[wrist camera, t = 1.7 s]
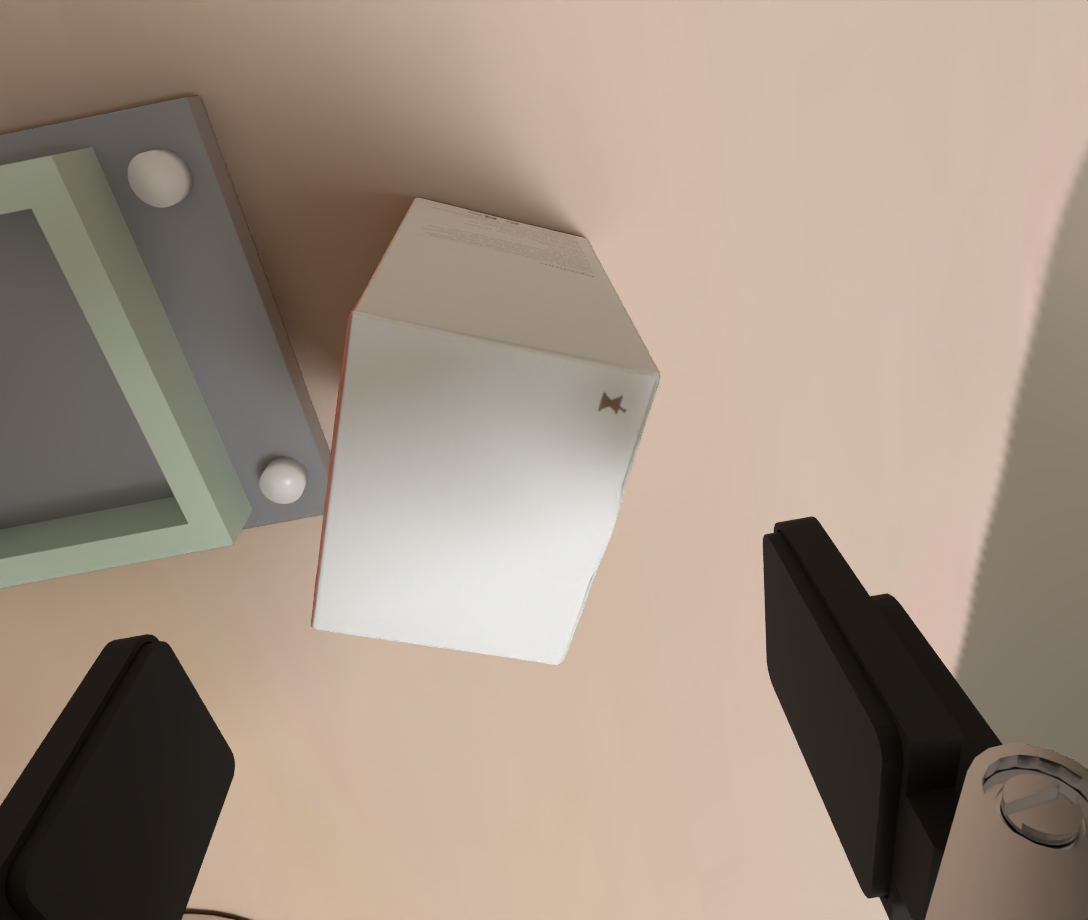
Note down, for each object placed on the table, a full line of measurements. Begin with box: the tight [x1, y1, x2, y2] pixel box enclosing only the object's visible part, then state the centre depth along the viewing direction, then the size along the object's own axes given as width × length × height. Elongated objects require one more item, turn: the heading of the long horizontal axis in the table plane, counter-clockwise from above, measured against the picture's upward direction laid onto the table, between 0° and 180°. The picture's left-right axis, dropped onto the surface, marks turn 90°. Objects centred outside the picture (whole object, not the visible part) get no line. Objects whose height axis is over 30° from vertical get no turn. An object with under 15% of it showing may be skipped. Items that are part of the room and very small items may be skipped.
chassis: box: [0, 96, 331, 588], centre depth 25 cm, size 15×18×4 cm
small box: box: [311, 198, 660, 665], centre depth 21 cm, size 8×6×13 cm
